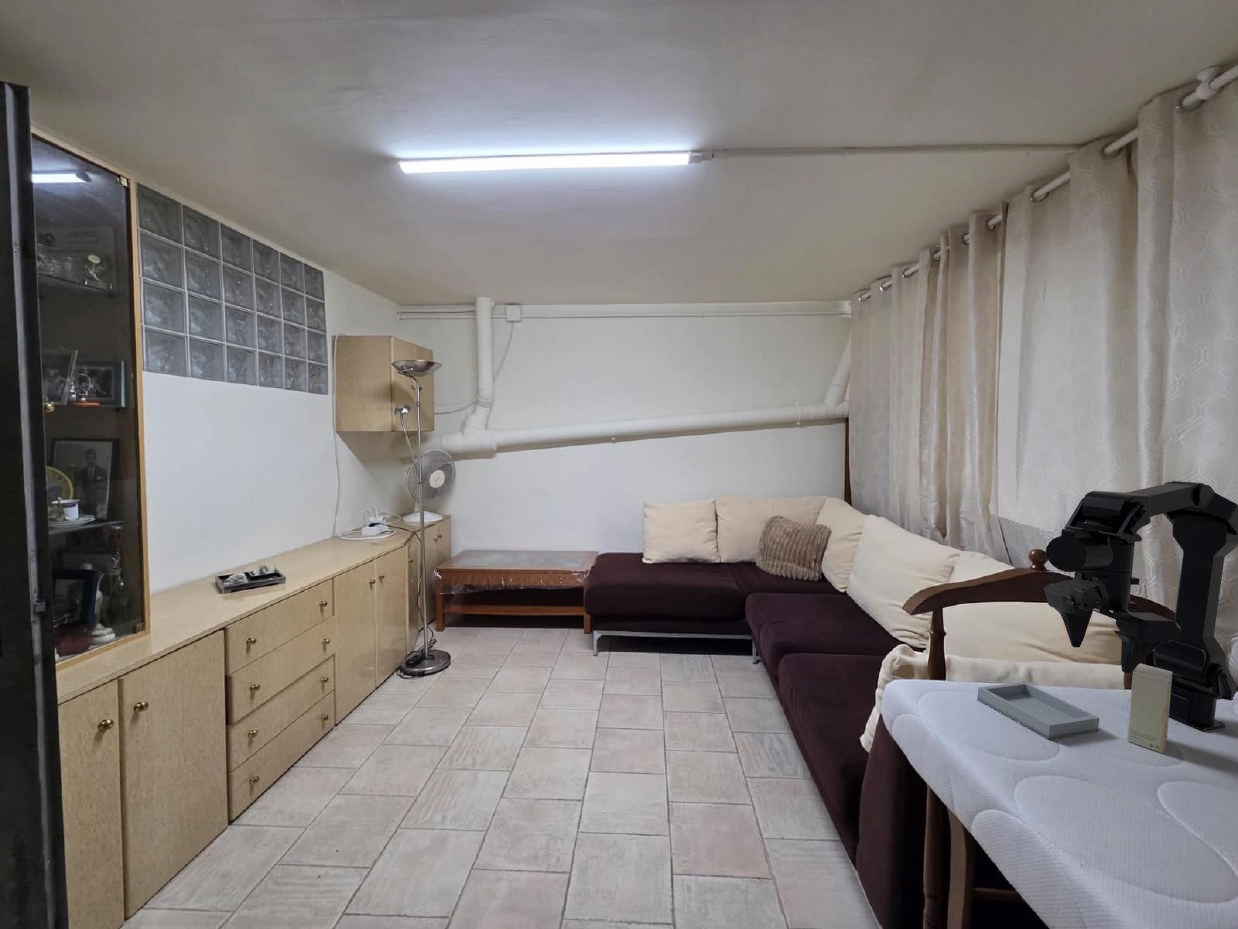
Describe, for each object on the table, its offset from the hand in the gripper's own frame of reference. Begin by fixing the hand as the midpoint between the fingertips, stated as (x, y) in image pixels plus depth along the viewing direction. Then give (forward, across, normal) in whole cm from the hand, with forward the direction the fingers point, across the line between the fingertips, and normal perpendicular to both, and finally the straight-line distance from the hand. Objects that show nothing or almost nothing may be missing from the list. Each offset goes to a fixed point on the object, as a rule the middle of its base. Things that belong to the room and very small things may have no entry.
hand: (1099, 659), depth 83 cm
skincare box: (+14, 0, +9) cm, 17 cm away
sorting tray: (+14, -6, -5) cm, 16 cm away
